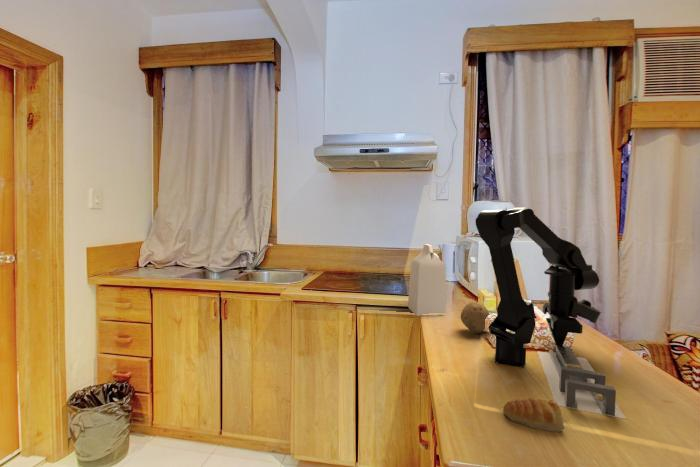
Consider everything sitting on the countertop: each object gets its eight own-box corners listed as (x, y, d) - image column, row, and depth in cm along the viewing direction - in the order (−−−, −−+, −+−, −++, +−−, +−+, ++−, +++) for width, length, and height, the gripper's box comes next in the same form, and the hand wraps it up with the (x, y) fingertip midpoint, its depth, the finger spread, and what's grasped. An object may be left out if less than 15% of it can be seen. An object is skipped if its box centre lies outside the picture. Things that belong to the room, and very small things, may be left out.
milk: (407, 307, 137) (409, 243, 136) (435, 306, 138) (436, 243, 137) (416, 315, 125) (418, 246, 124) (446, 315, 126) (448, 246, 125)
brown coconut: (453, 330, 109) (454, 299, 109) (473, 326, 114) (474, 297, 113) (475, 339, 101) (476, 306, 101) (495, 335, 105) (496, 303, 105)
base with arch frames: (556, 408, 65) (557, 381, 65) (537, 353, 91) (538, 333, 91) (626, 422, 61) (628, 393, 61) (585, 360, 87) (586, 340, 87)
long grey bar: (569, 386, 72) (570, 372, 72) (555, 356, 88) (556, 345, 88) (586, 389, 71) (587, 375, 71) (569, 358, 87) (569, 347, 87)
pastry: (507, 427, 60) (508, 406, 59) (499, 406, 66) (500, 387, 66) (567, 435, 57) (568, 414, 57) (553, 413, 64) (553, 394, 64)
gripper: (609, 302, 79) (606, 367, 80) (588, 287, 96) (585, 340, 97) (554, 297, 83) (552, 359, 84) (543, 283, 100) (541, 335, 101)
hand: (559, 347), depth 91 cm, fingers closed
